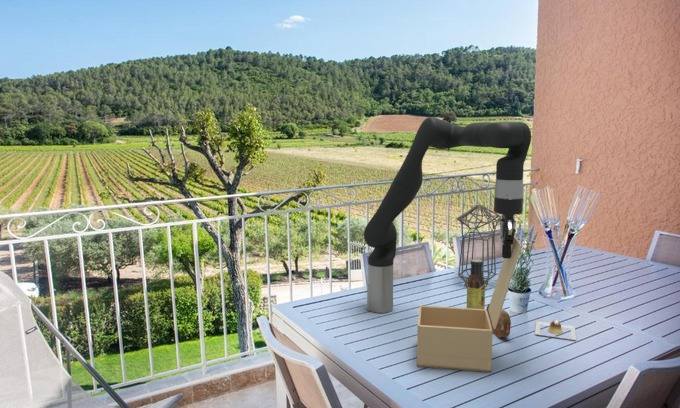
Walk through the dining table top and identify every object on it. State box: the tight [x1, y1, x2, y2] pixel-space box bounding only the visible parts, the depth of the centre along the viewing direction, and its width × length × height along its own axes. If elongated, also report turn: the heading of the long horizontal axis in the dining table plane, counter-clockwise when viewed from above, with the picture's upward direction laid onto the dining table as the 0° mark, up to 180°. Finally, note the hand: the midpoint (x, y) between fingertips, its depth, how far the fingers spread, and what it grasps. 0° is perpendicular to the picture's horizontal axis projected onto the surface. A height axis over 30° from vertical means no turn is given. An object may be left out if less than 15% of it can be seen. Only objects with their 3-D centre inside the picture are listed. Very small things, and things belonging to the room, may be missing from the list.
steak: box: [485, 303, 512, 338], centre depth 165 cm, size 15×3×8 cm, turn 5°
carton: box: [416, 305, 494, 373], centre depth 147 cm, size 20×17×12 cm
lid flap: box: [488, 236, 523, 329], centre depth 142 cm, size 24×15×1 cm
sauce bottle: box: [466, 258, 486, 310], centre depth 180 cm, size 7×6×20 cm
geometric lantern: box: [455, 203, 502, 288], centre depth 212 cm, size 16×16×35 cm
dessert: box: [534, 319, 577, 341], centre depth 165 cm, size 12×12×5 cm
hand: (506, 257), depth 141 cm, fingers closed
